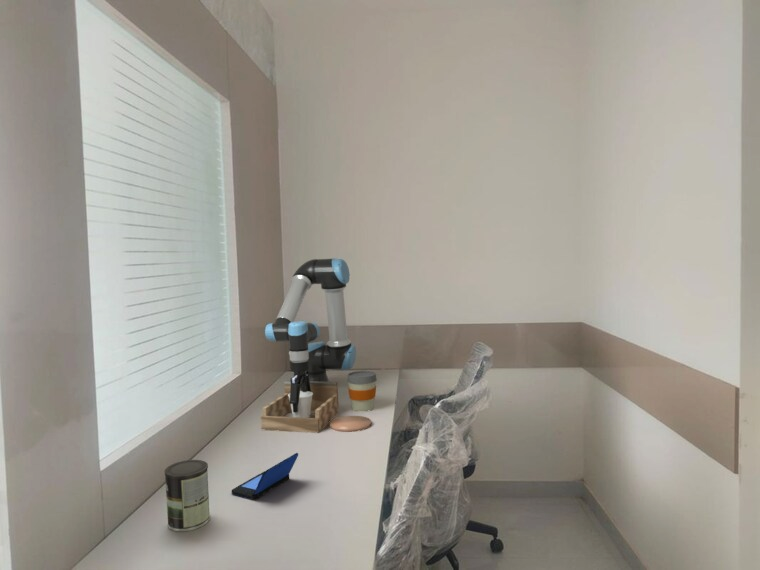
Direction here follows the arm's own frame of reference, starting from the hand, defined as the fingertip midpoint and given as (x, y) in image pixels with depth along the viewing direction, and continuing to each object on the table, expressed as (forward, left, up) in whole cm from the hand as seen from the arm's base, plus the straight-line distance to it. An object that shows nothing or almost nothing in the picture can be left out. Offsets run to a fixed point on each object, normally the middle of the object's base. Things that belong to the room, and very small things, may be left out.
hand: (301, 415), depth 218 cm
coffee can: (+82, +2, -2) cm, 82 cm away
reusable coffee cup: (-20, +20, -2) cm, 28 cm away
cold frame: (0, 0, -2) cm, 2 cm away
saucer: (+2, +21, -2) cm, 21 cm away
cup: (0, 0, -2) cm, 2 cm away
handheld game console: (+60, +13, -3) cm, 62 cm away
